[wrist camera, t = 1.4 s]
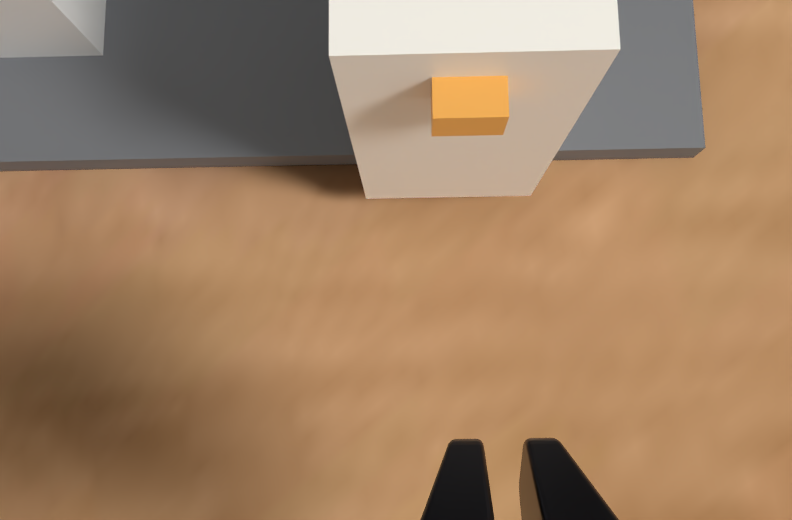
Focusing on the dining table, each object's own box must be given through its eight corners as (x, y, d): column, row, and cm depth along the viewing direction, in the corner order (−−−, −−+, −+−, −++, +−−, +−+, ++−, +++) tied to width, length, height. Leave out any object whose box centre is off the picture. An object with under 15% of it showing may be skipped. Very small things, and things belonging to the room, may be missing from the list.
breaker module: (531, 221, 22) (623, 93, 13) (366, 224, 23) (329, 100, 13) (522, 11, 24) (600, -257, 14) (364, 15, 24) (329, -248, 14)
